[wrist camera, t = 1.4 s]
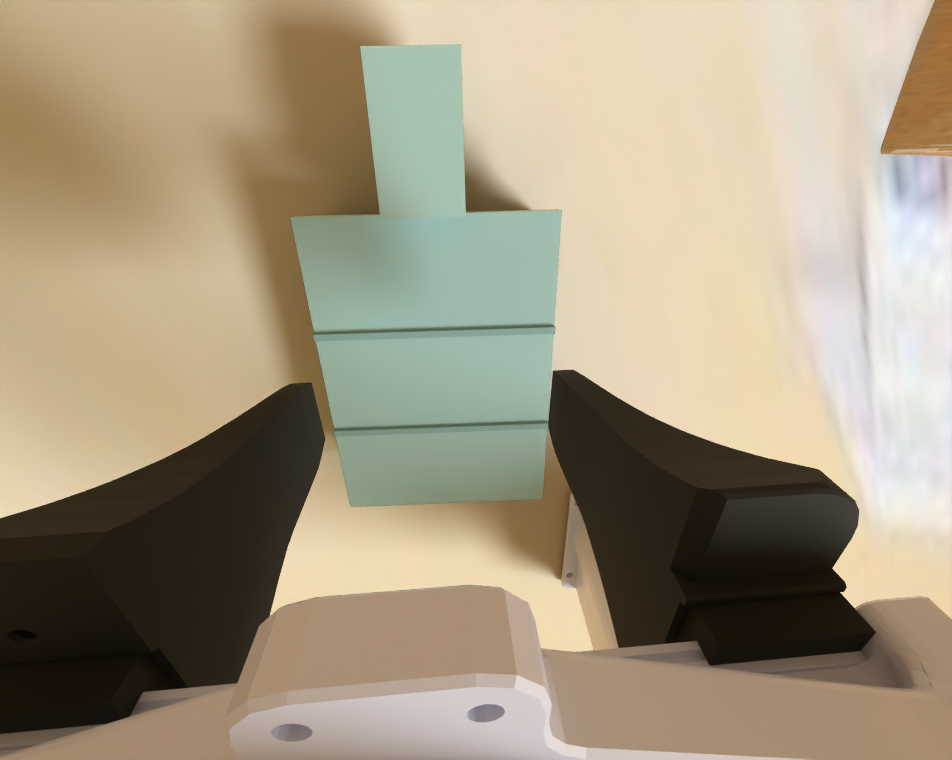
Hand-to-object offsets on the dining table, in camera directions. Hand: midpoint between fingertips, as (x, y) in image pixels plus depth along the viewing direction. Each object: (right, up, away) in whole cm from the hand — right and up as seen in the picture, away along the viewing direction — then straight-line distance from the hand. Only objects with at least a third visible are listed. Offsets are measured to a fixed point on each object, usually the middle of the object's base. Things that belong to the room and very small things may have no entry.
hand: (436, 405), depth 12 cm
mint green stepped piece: (-1, +3, +7) cm, 8 cm away
